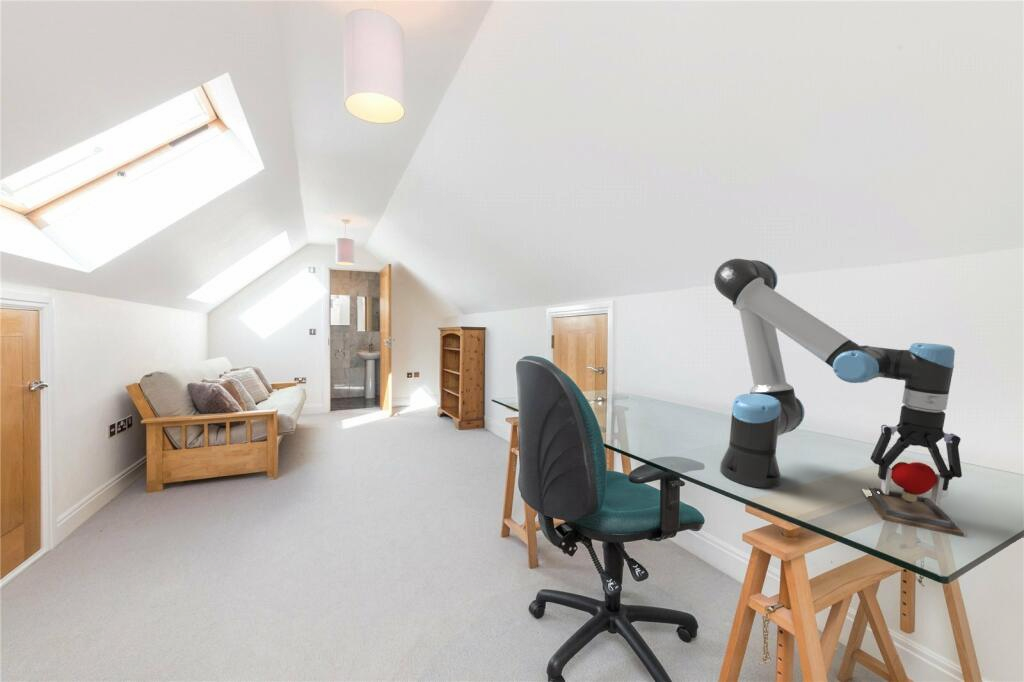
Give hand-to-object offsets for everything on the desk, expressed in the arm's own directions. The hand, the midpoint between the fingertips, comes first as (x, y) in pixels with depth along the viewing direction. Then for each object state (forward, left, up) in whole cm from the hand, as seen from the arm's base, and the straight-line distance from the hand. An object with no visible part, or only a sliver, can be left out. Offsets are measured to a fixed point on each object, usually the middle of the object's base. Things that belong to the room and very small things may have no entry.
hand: (909, 496), depth 101 cm
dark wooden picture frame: (0, 0, -4) cm, 4 cm away
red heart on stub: (0, 0, -2) cm, 2 cm away
